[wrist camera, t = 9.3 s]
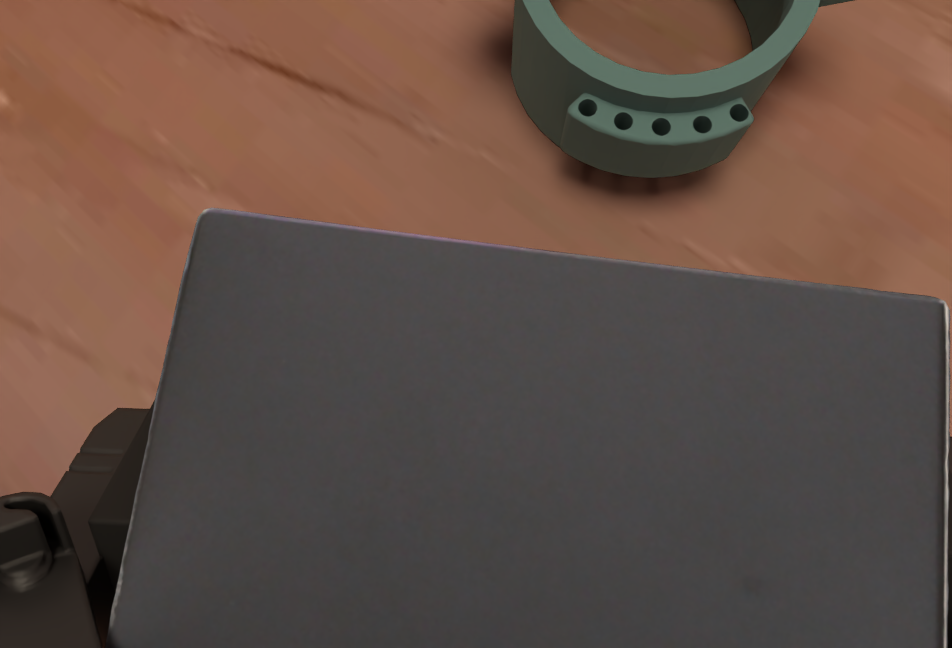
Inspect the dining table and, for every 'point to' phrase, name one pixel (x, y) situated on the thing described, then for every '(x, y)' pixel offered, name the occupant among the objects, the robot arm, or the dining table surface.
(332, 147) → the dining table surface
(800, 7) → the bracket
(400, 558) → the small box
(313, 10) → the dining table surface
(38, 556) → the robot arm
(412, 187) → the dining table surface
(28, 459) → the dining table surface
